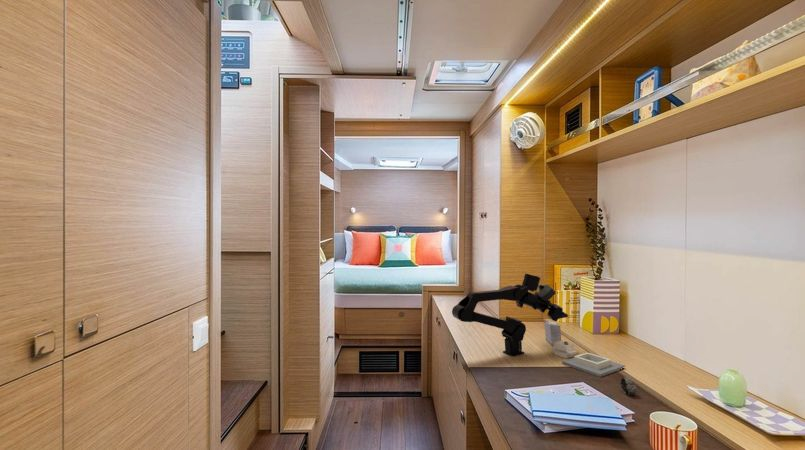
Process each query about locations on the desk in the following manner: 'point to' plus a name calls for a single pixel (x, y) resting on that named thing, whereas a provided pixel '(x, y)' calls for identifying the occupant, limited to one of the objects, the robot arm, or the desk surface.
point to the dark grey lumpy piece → (631, 387)
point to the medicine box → (552, 332)
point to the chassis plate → (593, 364)
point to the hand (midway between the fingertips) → (561, 311)
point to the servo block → (563, 349)
